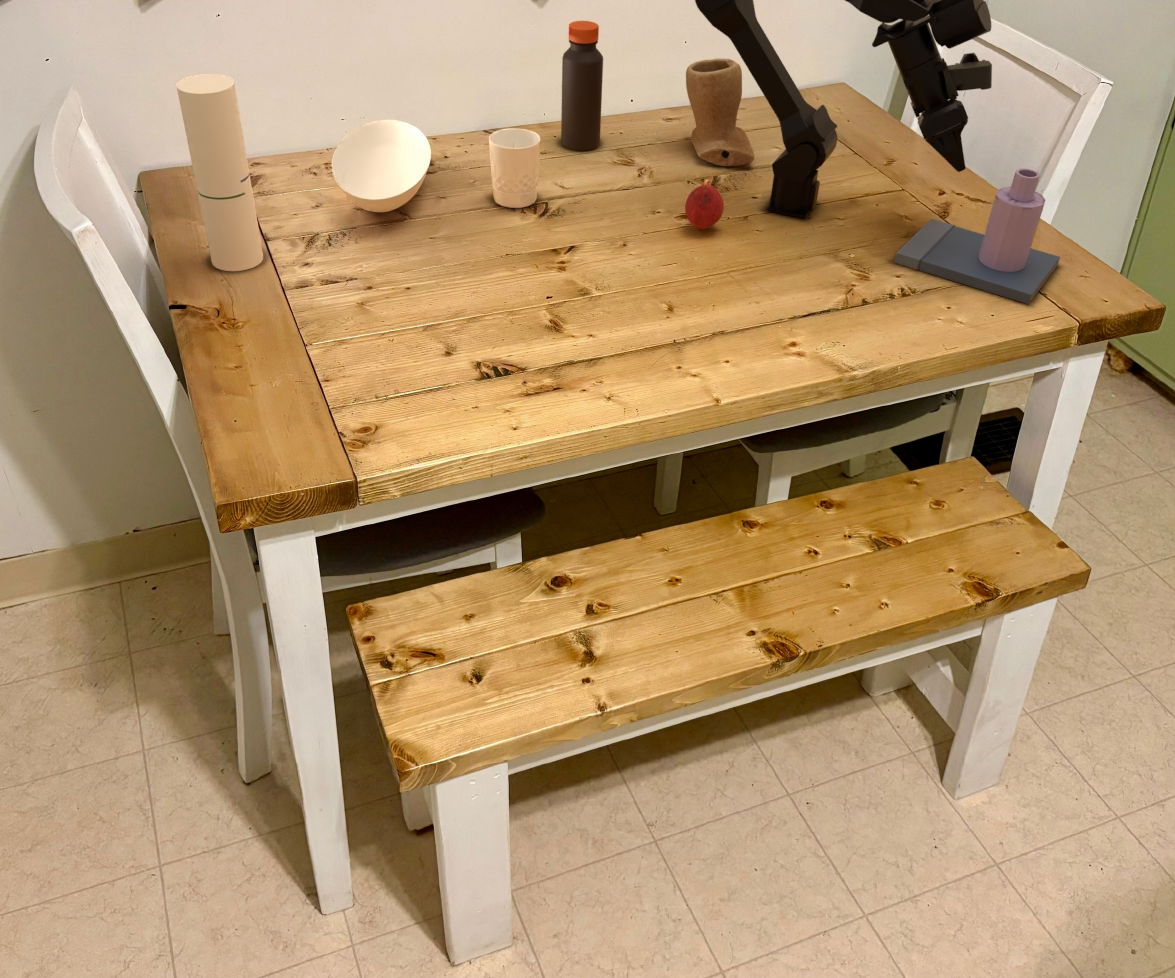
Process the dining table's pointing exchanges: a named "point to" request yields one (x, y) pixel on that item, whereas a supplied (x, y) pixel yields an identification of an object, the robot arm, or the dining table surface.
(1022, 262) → the vase
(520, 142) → the white cup
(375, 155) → the bowl
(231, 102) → the cylindrical container
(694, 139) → the clay boot vessel
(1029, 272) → the grey stepped slab
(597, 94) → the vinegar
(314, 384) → the dining table surface
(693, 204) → the onion
